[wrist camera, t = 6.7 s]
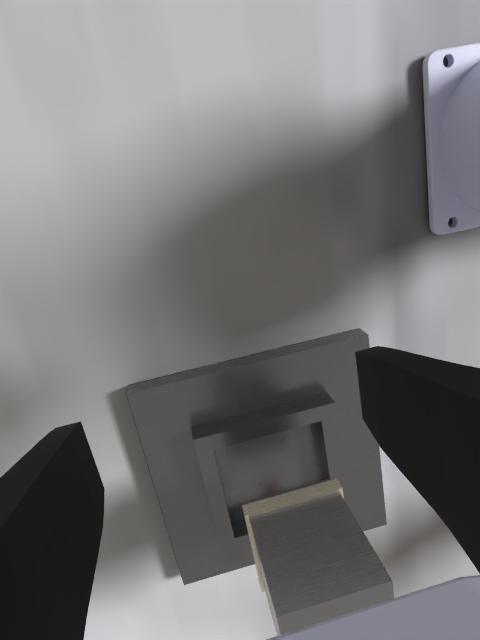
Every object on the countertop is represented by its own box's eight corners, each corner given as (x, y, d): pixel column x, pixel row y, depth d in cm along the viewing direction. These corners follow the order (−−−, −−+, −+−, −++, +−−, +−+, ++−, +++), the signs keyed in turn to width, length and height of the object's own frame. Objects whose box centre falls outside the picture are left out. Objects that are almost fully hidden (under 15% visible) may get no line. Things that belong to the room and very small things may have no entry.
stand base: (359, 328, 23) (401, 358, 19) (378, 512, 27) (416, 569, 23) (128, 385, 22) (121, 430, 18) (183, 570, 26) (187, 641, 22)
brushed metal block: (334, 474, 19) (396, 576, 14) (344, 547, 20) (404, 664, 15) (240, 500, 18) (270, 615, 14) (257, 574, 20) (290, 703, 15)
